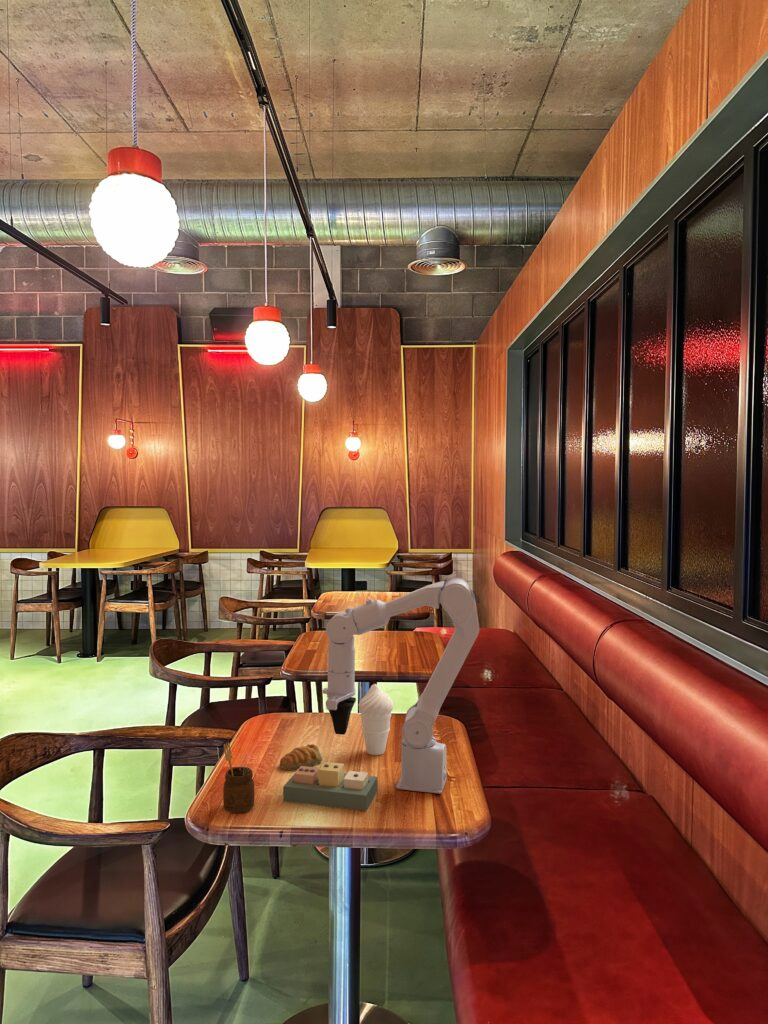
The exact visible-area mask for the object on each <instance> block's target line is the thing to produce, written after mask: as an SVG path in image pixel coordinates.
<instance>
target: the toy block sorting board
mask: <svg viewBox="0 0 768 1024" xmlns="http://www.w3.org/2000/svg"><path fill="white" fill-rule="evenodd" d="M347 774H348V772H344V778H345V776H346V775H347ZM378 777H379V776H373V775H368V785H367V787H366V788H365V790H358V789H349V788H344V781H343V782H342V784H341V785H340V786H339V787H331V786H322V785H319V779H318V780H317V781H316V783H315V784H314V785H313V784H304V783H295V782H294V774H292V776H291V777H290V778H289V779H288V781H286V783H285V784H284V785H283V791H282V792H283V793H282V794H283V795H282V796H283V797H282V800H283V802H288V803H296V804H297V803H298V804H304V805H305V804H306V805H313V806H321V807H329V808H337V809H338V808H339V809H346V810H356V811H362V812H363V811H364V812H365V811H367V810H368V809H369V807H370V805H371V804H372V802H373V801H374V798H375V796H376V794H377V793H378V781H379V779H378Z"/></svg>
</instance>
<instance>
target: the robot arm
mask: <svg viewBox="0 0 768 1024" xmlns="http://www.w3.org/2000/svg"><path fill="white" fill-rule="evenodd" d="M440 604H441V606H442V608H443V609H444V611H445V612H446V613H447V614H448V615H449V616H450V618H451V622H452V625H453V626H454V631H453V633H452V636H450V639H449V641H448V643H447V644H446V647H445V648H444V651H443V653H442V654H441V656H440V659H439V661H438V663H437V664H436V666H435V669H434V670H433V672H432V674H431V676H430V678H429V680H428V682H427V683H426V686H425V687H424V690H423V691H422V693H421V694H420V695H419V697H418V700H417V701H416V702H415V704H413V705H411V706H410V707H409V708H408V709H407V711H406V712H405V713H406V714H405V719H404V723H403V724H402V728H401V735H402V736H401V751H400V752H401V757H400V758H401V759H400V760H401V762H400V764H401V766H400V768H401V770H400V772H401V773H400V775H401V776H400V778H399V780H398V782H397V784H396V787H395V788H396V789H397V790H405V791H413V792H423V793H432V794H439V795H440V794H442V792H443V791H444V787H445V784H446V782H447V745H446V744H445V743H440V742H438V741H437V740H436V737H435V736H434V733H433V732H434V729H433V728H434V724H435V722H436V720H437V719H438V715H439V712H440V710H441V707H442V705H443V703H444V702H445V700H446V697H447V695H448V694H449V692H450V690H451V688H452V687H453V684H454V682H455V680H456V678H457V676H458V674H459V672H460V671H461V668H462V667H463V665H464V663H465V661H466V659H467V657H468V655H469V654H470V651H471V649H472V647H473V645H474V644H475V642H476V639H477V638H478V636H479V633H480V623H479V618H478V611H477V609H478V608H477V604H476V596H475V594H474V592H473V590H472V588H471V586H470V585H469V583H468V582H467V581H466V580H465V579H463V578H460V577H453V578H449V579H448V580H447V581H445V580H442V581H437V582H434V583H432V584H431V583H430V584H427V585H424V586H423V587H421V588H417V589H415V590H414V591H411V592H408V593H406V594H404V595H400V596H399V597H397V598H396V597H395V598H394V599H392V600H389V601H387V602H385V601H382V600H380V599H374V600H373V598H369V599H367V600H366V601H365V603H363V604H361V605H359V606H356V607H354V608H351V607H347V608H345V609H344V611H341V612H338V613H336V614H334V616H332V617H331V618H330V619H329V620H328V622H327V624H326V627H325V632H326V636H327V637H328V648H327V687H324V688H322V691H321V693H322V694H324V695H325V694H326V697H327V699H326V701H325V707H326V708H325V709H326V710H328V712H329V714H330V717H331V721H332V725H333V726H332V727H333V730H334V734H335V735H342V736H344V735H346V733H347V731H348V728H349V727H348V726H349V722H350V717H351V713H352V710H353V708H354V705H355V704H356V701H357V698H356V697H355V696H356V688H355V686H356V685H355V682H356V681H355V679H356V678H355V676H356V675H355V673H356V672H355V671H356V669H355V667H356V666H355V665H356V663H355V662H356V661H355V660H356V649H355V648H356V647H355V636H354V635H356V636H361V635H363V634H366V633H368V632H369V633H370V632H372V631H374V630H377V629H379V628H382V627H386V626H387V625H388V624H389V621H390V619H391V617H395V616H398V615H401V614H405V613H407V612H410V611H413V610H415V609H418V608H421V607H424V606H425V607H431V608H433V609H436V610H437V609H438V610H439V608H440Z"/></svg>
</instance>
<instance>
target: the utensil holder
mask: <svg viewBox="0 0 768 1024" xmlns="http://www.w3.org/2000/svg"><path fill="white" fill-rule="evenodd" d="M223 750H224V756H225V761H228V765H229V769H227V770H226V772H225V776H224V779H225V780H224V783H223V788H222V789H223V791H222V792H223V799H222V800H223V801H222V802H223V809H224V810H225V811H226V812H227V813H230V814H243V813H247V812H249V811H251V810H252V809H253V808H254V806H255V781H254V779H253V776H254V775H253V770H252V769H251V767H252V766H250V764H252V762H253V760H252V758H251V757H252V756H251V754H250V753H249V752H248V753H247V752H246V753H243V754H242V756H240V759H241V760H239V762H238V764H239V766H236V767H233V766H232V765H233V764H232V759H233V753H232V749H231V745H230V742H229V741H228V742H227V743H224V744H223ZM247 755H248V756H249V758H248V759H249V760H245V761H244V764H243V763H242V761H243V760H244V759H245V758H247ZM242 757H243V758H242ZM247 761H249V763H250V764H248V766H242V764H243V765H246V763H247ZM245 762H246V763H245Z"/></svg>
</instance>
